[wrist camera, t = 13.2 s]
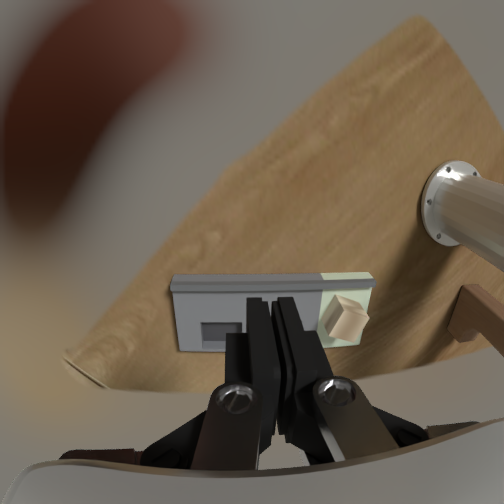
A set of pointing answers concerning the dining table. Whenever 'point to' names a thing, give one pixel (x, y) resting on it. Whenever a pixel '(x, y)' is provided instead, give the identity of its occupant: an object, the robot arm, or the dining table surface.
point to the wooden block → (478, 317)
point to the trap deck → (269, 288)
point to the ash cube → (344, 318)
